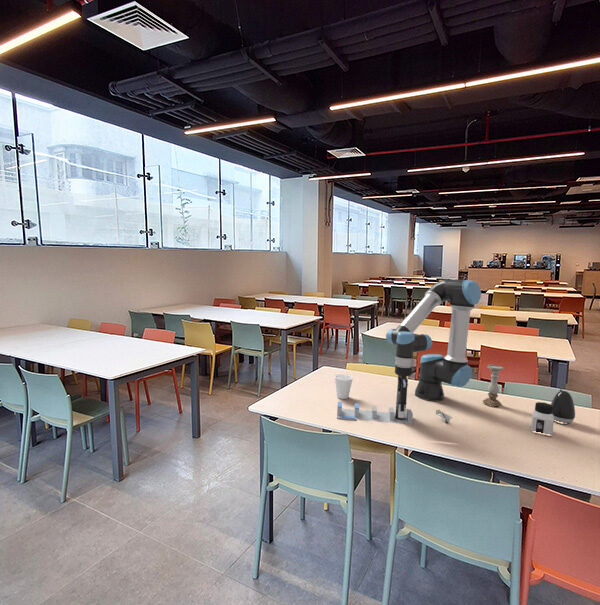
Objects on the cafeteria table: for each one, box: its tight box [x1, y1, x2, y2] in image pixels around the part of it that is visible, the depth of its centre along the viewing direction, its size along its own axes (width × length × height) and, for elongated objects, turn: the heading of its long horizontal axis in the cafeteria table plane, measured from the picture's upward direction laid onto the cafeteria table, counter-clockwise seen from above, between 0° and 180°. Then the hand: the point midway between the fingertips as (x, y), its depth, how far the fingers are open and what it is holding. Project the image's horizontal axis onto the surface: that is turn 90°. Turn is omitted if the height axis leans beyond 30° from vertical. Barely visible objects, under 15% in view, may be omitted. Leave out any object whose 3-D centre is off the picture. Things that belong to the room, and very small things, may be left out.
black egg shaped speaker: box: [550, 389, 576, 424], centre depth 179 cm, size 10×10×15 cm
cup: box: [334, 374, 354, 400], centre depth 202 cm, size 10×10×11 cm
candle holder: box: [482, 364, 505, 407], centre depth 199 cm, size 9×9×20 cm
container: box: [530, 401, 555, 436], centre depth 168 cm, size 8×8×13 cm
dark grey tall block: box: [395, 392, 407, 420], centre depth 176 cm, size 4×4×12 cm
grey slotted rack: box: [336, 401, 414, 425], centre depth 178 cm, size 34×11×5 cm, turn 82°
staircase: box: [435, 409, 453, 424], centre depth 174 cm, size 6×4×6 cm, turn 24°
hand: (400, 414), depth 176 cm, fingers open, 6 cm apart
